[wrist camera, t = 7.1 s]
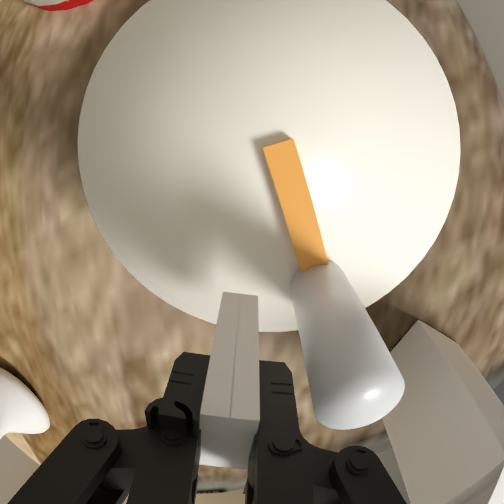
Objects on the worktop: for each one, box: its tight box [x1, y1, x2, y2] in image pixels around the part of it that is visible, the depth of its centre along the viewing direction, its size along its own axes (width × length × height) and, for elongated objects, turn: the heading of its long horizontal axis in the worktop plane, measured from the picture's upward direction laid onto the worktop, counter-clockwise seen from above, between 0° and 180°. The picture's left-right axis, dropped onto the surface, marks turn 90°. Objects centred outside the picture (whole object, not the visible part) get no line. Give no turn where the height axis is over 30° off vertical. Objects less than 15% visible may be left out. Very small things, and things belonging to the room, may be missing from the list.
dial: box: [78, 0, 460, 430], centre depth 11 cm, size 20×20×11 cm
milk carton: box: [382, 320, 504, 504], centre depth 16 cm, size 7×7×19 cm
